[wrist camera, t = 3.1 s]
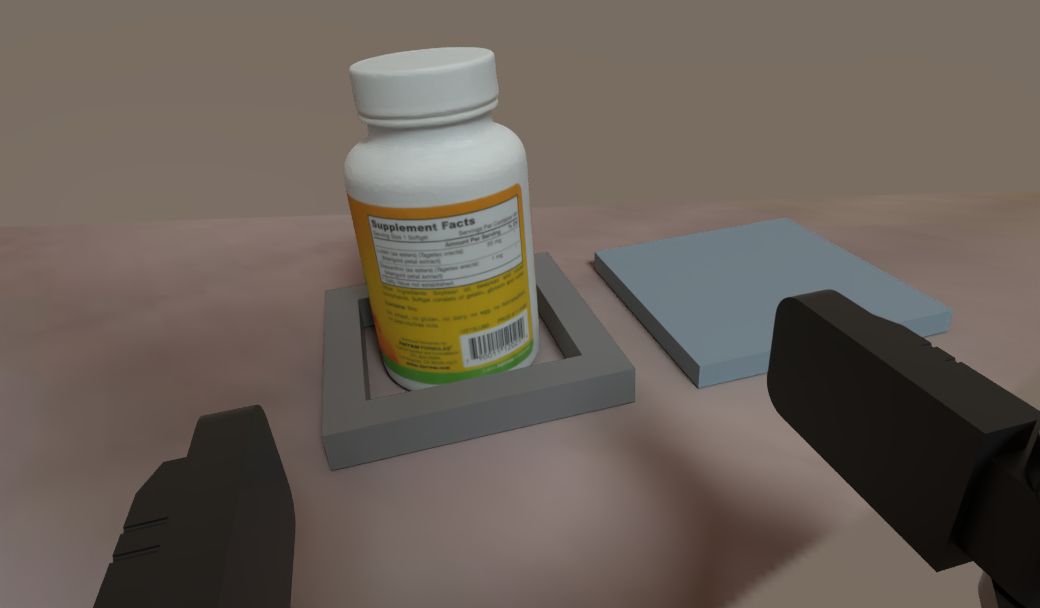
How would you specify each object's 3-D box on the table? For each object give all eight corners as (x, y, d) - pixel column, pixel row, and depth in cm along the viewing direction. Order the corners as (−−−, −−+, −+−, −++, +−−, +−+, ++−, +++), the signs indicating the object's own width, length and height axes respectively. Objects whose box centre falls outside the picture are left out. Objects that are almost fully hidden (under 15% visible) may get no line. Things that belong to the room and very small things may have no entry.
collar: (331, 470, 18) (321, 436, 17) (331, 318, 25) (325, 290, 25) (634, 401, 19) (635, 368, 19) (549, 277, 27) (547, 251, 26)
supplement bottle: (420, 311, 25) (374, 47, 20) (554, 320, 24) (539, 39, 19) (357, 394, 21) (280, 79, 16) (519, 410, 19) (487, 71, 15)
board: (698, 388, 20) (700, 366, 19) (594, 268, 27) (594, 251, 27) (947, 331, 21) (953, 310, 21) (783, 234, 29) (785, 217, 28)
